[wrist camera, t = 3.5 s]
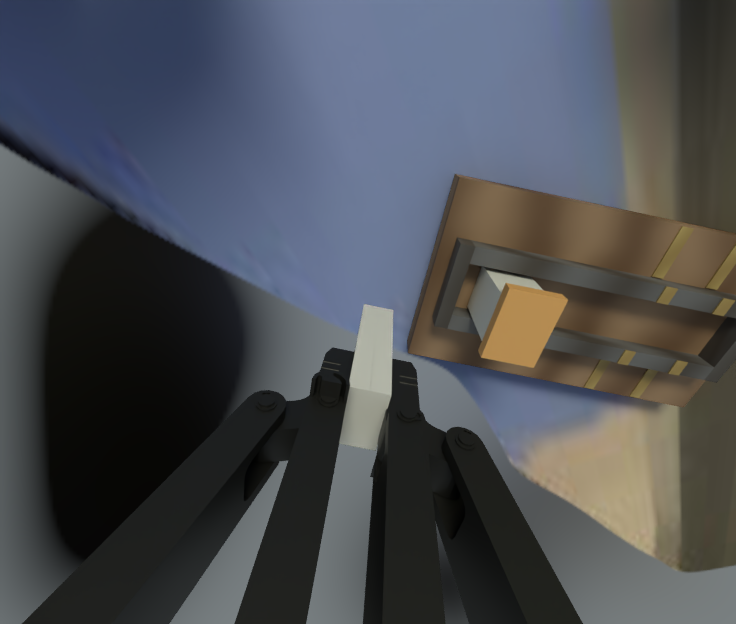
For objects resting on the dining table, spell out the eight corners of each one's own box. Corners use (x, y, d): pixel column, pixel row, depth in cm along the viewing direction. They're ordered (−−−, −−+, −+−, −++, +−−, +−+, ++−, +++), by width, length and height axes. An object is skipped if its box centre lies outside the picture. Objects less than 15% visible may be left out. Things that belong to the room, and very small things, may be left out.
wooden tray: (407, 340, 31) (408, 365, 28) (454, 174, 24) (464, 180, 21) (667, 391, 32) (699, 422, 28) (780, 243, 25) (839, 260, 22)
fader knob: (464, 314, 27) (480, 357, 22) (485, 255, 25) (509, 288, 20) (507, 322, 27) (533, 368, 22) (532, 265, 25) (568, 300, 20)
